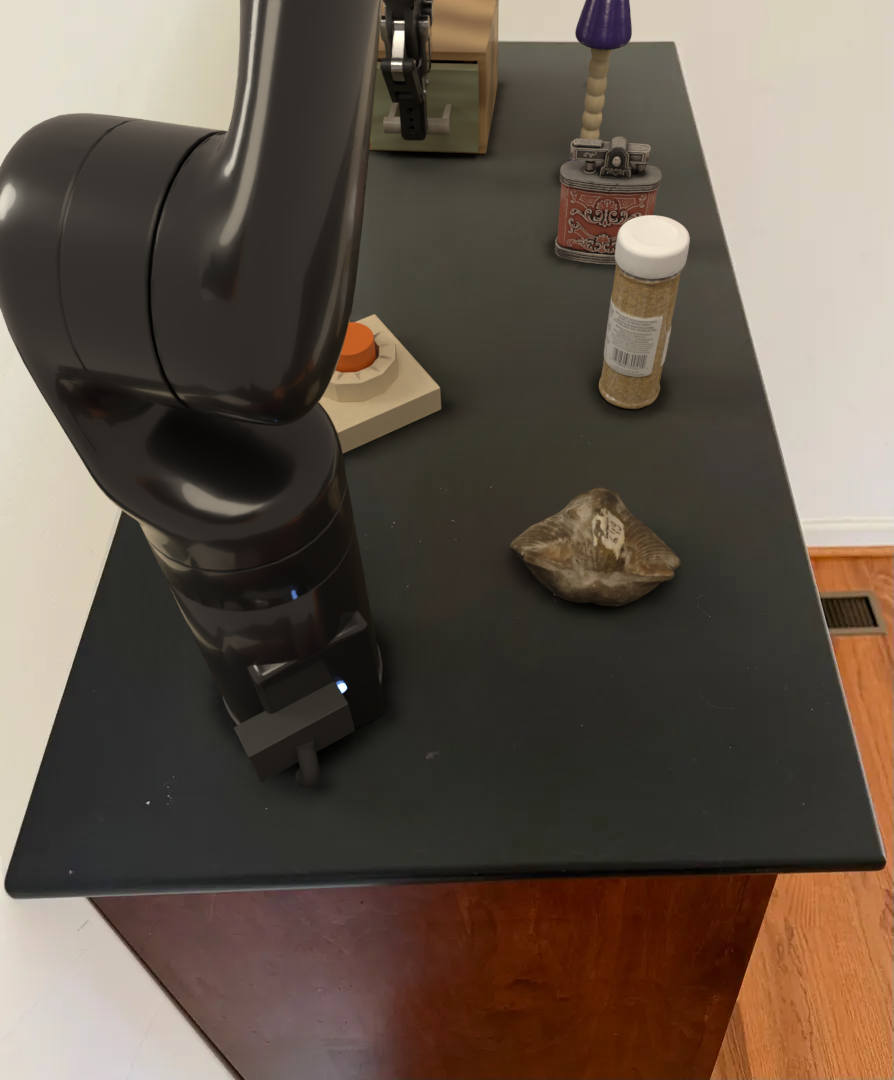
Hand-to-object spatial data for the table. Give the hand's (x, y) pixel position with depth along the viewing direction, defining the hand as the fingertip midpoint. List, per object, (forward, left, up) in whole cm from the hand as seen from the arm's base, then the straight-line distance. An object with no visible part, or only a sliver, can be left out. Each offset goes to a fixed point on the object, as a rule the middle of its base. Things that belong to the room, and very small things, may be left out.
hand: (415, 135), depth 81 cm
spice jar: (-32, +1, -5) cm, 33 cm away
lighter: (-17, -8, -5) cm, 20 cm away
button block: (-21, +18, -5) cm, 28 cm away
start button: (-21, +18, -2) cm, 28 cm away
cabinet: (+11, -8, -5) cm, 14 cm away
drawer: (+7, -6, -4) cm, 10 cm away
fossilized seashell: (-44, +13, -5) cm, 47 cm away
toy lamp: (-7, -14, -5) cm, 17 cm away
